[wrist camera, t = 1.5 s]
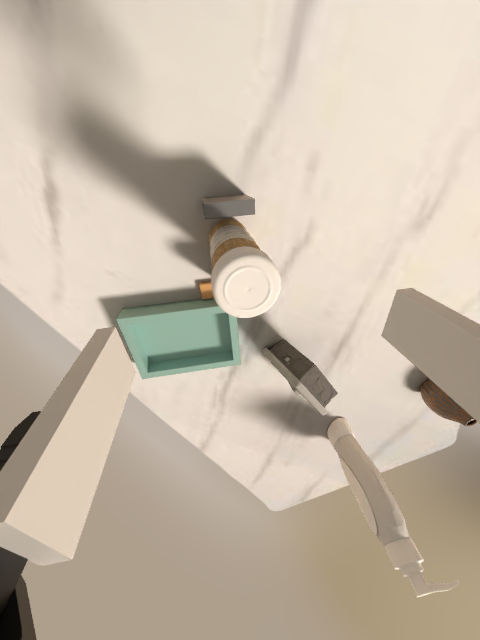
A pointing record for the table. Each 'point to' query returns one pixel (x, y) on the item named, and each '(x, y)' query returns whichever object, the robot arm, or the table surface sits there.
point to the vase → (444, 404)
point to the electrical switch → (301, 375)
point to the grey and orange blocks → (225, 208)
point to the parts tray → (180, 337)
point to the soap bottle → (380, 508)
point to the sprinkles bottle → (241, 271)
